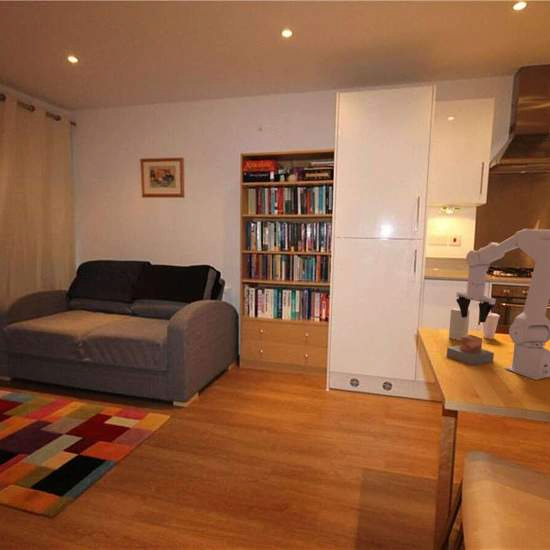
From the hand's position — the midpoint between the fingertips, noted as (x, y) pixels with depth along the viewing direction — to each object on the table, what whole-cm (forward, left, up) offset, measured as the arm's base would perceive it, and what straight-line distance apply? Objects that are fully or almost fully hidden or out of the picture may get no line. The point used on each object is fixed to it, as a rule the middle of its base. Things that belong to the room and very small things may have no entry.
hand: (473, 319), depth 138 cm
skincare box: (+9, -4, -11) cm, 14 cm away
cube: (-9, +12, -7) cm, 17 cm away
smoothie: (+6, -18, -11) cm, 22 cm away
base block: (-9, +12, -10) cm, 18 cm away
